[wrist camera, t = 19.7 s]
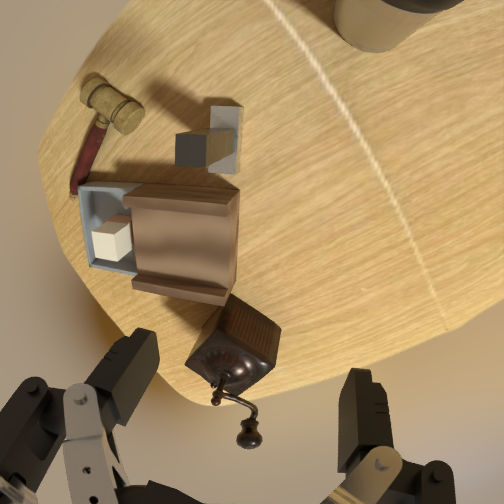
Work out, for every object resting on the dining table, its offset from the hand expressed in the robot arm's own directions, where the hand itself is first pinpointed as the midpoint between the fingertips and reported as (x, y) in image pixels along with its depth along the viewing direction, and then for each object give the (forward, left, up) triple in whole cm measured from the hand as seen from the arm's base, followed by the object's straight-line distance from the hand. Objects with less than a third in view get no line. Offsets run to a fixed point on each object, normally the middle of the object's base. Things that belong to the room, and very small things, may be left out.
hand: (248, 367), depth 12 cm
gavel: (-4, -31, -32) cm, 45 cm away
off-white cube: (+8, -24, -27) cm, 37 cm away
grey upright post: (-6, -9, -31) cm, 33 cm away
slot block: (+8, -14, -31) cm, 35 cm away
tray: (+8, -27, -31) cm, 42 cm away
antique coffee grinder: (+26, -4, -32) cm, 41 cm away
